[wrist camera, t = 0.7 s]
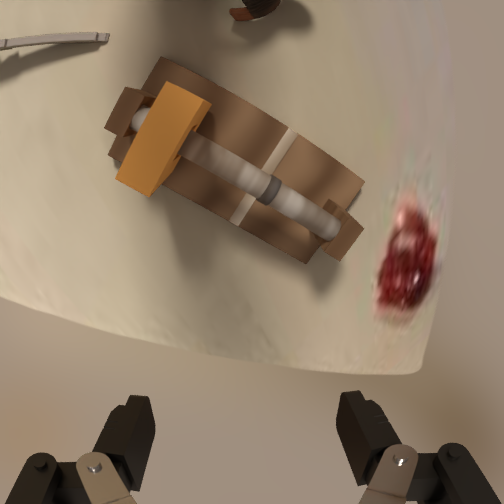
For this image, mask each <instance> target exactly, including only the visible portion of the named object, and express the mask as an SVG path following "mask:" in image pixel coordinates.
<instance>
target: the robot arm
mask: <svg viewBox="0 0 504 504" xmlns="http://www.w3.org/2000/svg"><path fill="white" fill-rule="evenodd" d="M336 428H337V432H338V435H339V437H340V440H341V442H342V445H343V448H344V451H345V453H346V456H347V458H348V461H349V464H350V466H351V469H352V471H353V474H354V477H355V479H356V482H357V485H358V486H361V485H365V484H367V486H368V488H367V489H366V491H365V492H364V494H363V496H362V498H361V500H360V502H359V504H405V503H406V501H417V503H418V504H501V502H500V500H499V499H498V497H497V495H496V494H495V492H494V491H493V489H492V487H491V486H490V484H489V482H488V481H487V479H486V478H485V476H484V475H483V473H482V471H481V470H480V468H479V467H478V465H477V464H476V462H475V460H474V459H473V457H472V456H471V455H470V453H469V451H468V450H467V449H466V448H465V447H464V446H463V445H461V444H458V443H447V444H445V445H443V446H442V447H441V448H440V449H439V451H438V453H417V452H416V451H415V450H414V449H413V448H412V447H410V446H408V445H403V444H402V443H401V441H400V439H399V438H398V436H397V434H396V433H395V431H394V429H393V428H392V426H391V424H390V422H388V419H387V417H386V416H385V414H384V412H383V410H382V409H381V407H380V406H379V405H378V404H376V403H375V402H374V401H372V400H365V399H364V397H363V395H362V393H361V392H360V391H359V390H357V391H350V392H343V393H342V394H341V396H340V402H339V408H338V413H337V417H336ZM154 436H155V421H154V417H153V412H152V408H151V404H150V400H149V397H148V396H138V395H130V396H129V398H128V401H127V403H126V405H125V406H124V405H118V406H117V407H116V408H115V409H114V410H113V411H111V413H110V415H109V417H108V419H107V422H106V423H105V426H104V429H103V430H102V432H101V434H100V436H99V438H98V440H97V442H96V444H95V447H94V449H93V451H92V452H90V453H86V454H84V455H82V456H81V457H80V458H79V459H78V460H77V462H56V460H55V458H54V457H53V456H52V455H50V454H48V453H36V454H33V455H32V456H30V457H29V458H28V459H27V461H26V463H25V465H24V467H23V469H22V471H21V472H20V474H19V476H18V478H17V480H16V482H15V484H14V486H13V488H12V490H11V492H10V494H9V496H8V499H7V500H6V503H5V504H137V503H136V501H135V500H134V498H133V497H132V495H130V490H133V491H140V487H141V484H142V480H143V476H144V472H145V469H146V465H147V461H148V458H149V454H150V450H151V447H152V443H153V440H154Z"/></svg>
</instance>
